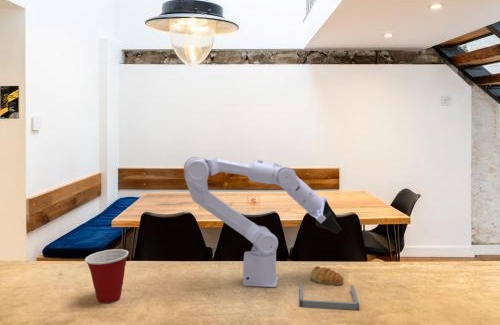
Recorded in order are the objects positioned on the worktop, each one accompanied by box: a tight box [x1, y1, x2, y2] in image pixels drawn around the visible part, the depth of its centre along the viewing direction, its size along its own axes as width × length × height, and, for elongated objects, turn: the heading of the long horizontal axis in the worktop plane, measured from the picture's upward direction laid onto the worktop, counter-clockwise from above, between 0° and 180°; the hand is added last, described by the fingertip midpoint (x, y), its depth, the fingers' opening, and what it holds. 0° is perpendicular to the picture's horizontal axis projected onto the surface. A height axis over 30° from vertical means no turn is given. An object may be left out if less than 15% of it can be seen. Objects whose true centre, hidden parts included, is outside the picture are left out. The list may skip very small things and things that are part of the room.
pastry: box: [309, 265, 345, 286], centre depth 122 cm, size 9×7×4 cm
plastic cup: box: [84, 248, 129, 304], centre depth 108 cm, size 11×11×12 cm
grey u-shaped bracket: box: [299, 282, 360, 311], centre depth 110 cm, size 15×13×2 cm
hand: (336, 225), depth 125 cm, fingers open, 7 cm apart
